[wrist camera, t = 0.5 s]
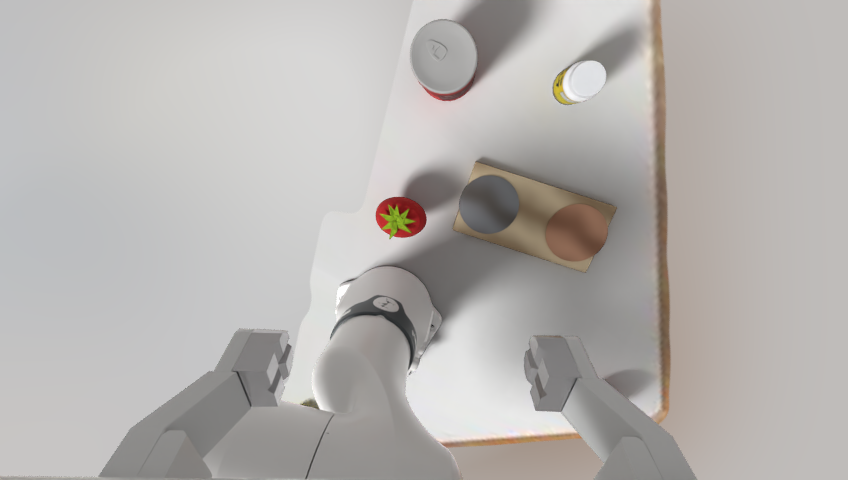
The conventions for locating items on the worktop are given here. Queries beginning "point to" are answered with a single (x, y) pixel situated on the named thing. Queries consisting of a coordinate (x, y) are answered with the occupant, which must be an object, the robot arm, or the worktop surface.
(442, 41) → the canned food
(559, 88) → the supplement bottle
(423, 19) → the worktop surface
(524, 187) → the board
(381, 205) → the strawberry
